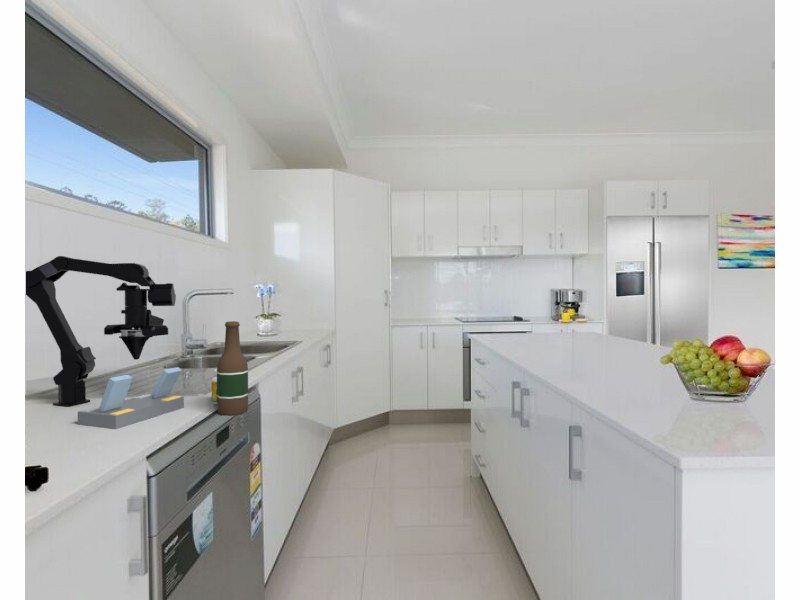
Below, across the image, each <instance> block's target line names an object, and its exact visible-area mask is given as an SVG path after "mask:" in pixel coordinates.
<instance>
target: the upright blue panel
mask: <svg viewBox="0 0 800 600" xmlns="http://www.w3.org/2000/svg"><path fill="white" fill-rule="evenodd" d="M133 378H134V377H133V376H131V375H130V374H126V375H119V376H114V377H110V378H109V379H108V382H107V384H106V388H105V390H104V393H103V397H102V399H101V401H100V405H99V406H100V407H99V408H100V412H104V411H108V410H112V409H115V408H119V407H122V406H123V403H124V401H125V400H126V398H127V394H128V392H129V389H130V386H131V384H132V381H133Z"/></svg>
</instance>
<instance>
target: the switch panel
mask: <svg viewBox="0 0 800 600" xmlns="http://www.w3.org/2000/svg"><path fill="white" fill-rule="evenodd" d="M151 394H152V393H146V394H143V395H139V396H135V397H132V398H128V399H125V401H124V403H123V406H122V407H119V408H115V409H112V410H108V411H104V412H100V408H99V407H100V405H98V406H95V407H91V408H87V409H83V410H79V411H77V425H78V426H79V425H80V426H89V427H96V428H105V429H113V430H117V429H120V428H124V427H126V426H129V425H133V424H136V423H139V422H142V421H146V420H148V419H152V418H155V417H159V416H161V415H162V416H163V415H165V414H168V413H170V412H171V413H172V412H174V411H177V410H181V409H183V408H185V396H180V395H170V394H168V395H164V396H161V397H157V398H152V395H151Z"/></svg>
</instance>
